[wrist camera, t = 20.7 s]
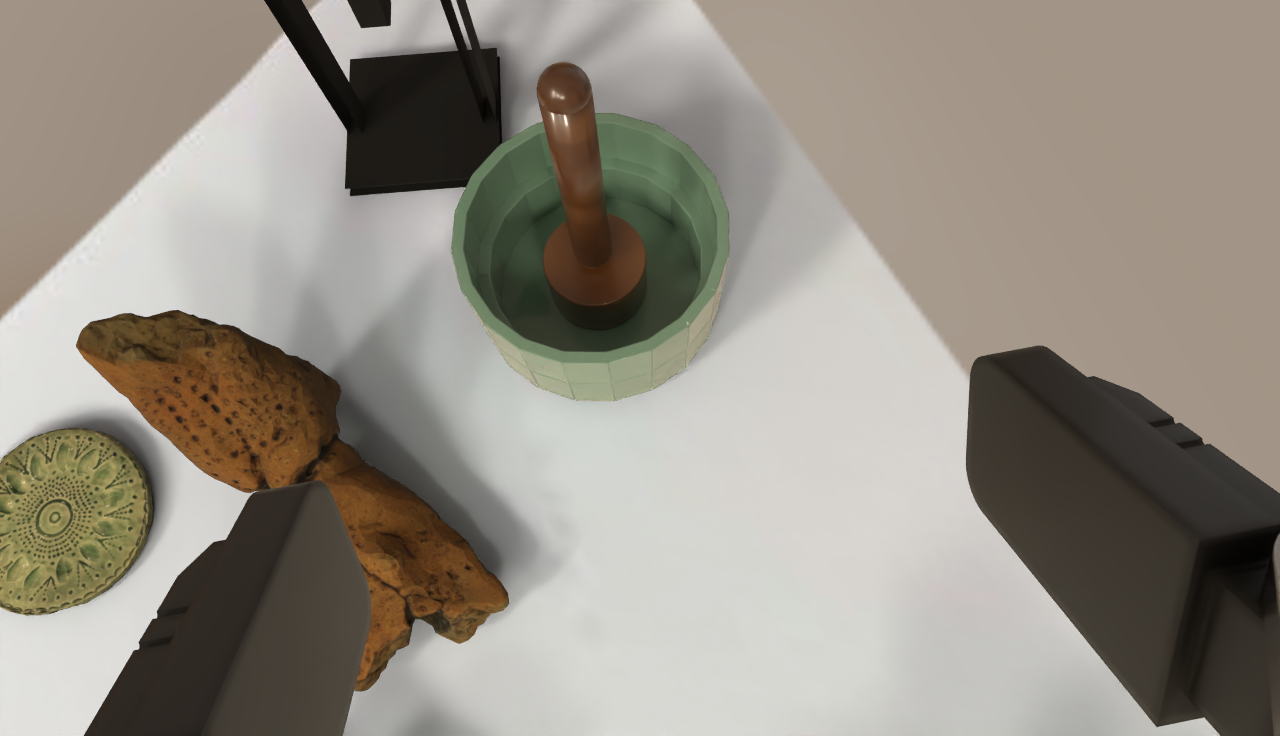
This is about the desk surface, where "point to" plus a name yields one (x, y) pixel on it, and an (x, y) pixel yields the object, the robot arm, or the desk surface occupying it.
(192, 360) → the sculpture
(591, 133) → the brown wooden pestle
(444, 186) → the handbag
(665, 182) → the bowl
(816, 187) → the desk surface
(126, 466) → the medallion
